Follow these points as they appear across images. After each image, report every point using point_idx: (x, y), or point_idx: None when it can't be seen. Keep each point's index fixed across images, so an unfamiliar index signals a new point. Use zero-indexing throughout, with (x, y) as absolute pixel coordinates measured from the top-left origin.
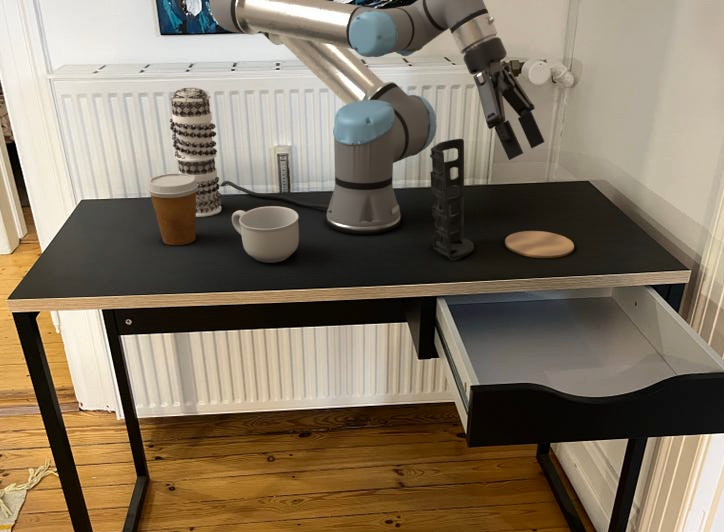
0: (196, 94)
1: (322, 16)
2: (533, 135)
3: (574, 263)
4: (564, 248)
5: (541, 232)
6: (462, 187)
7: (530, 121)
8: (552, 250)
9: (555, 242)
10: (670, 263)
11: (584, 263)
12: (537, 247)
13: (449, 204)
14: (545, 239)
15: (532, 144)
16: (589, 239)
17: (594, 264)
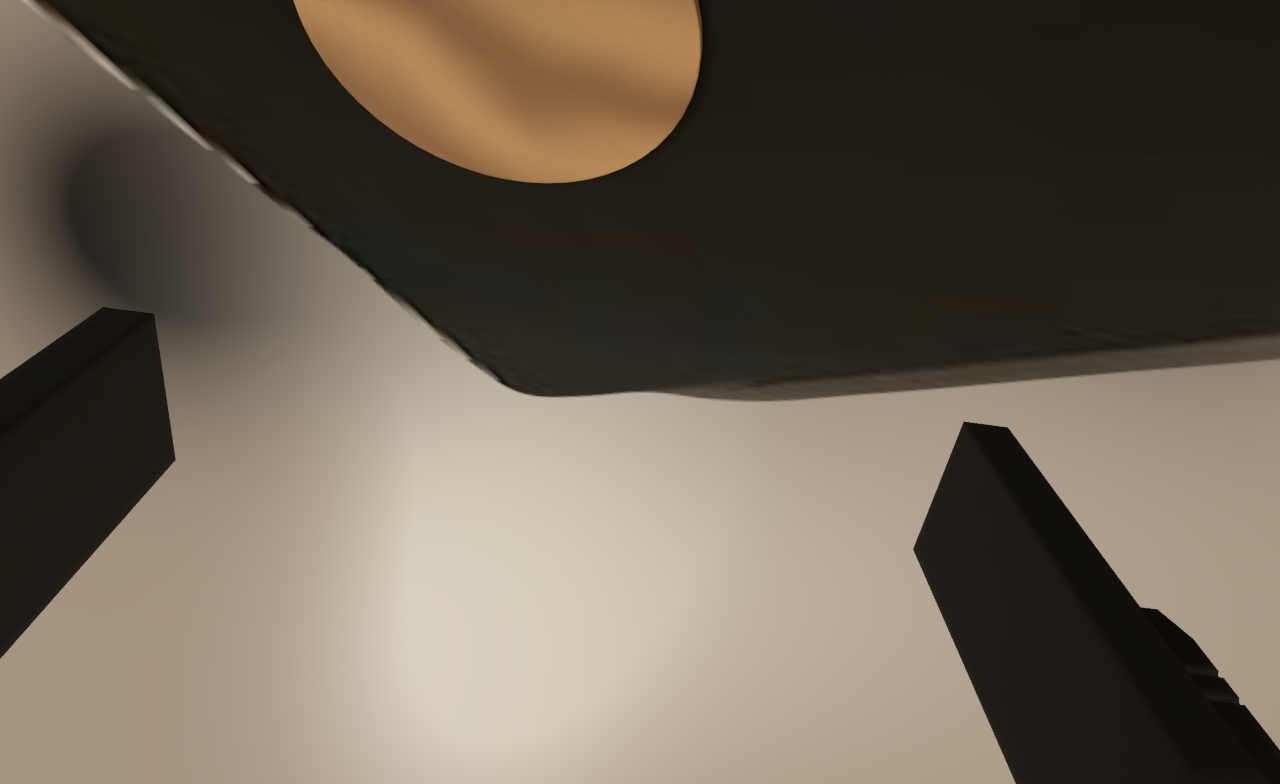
0: None
1: None
2: (980, 575)
3: (371, 172)
4: (486, 148)
5: (677, 40)
6: None
7: (1043, 756)
8: (424, 102)
9: (545, 112)
10: (561, 388)
11: (398, 203)
12: (417, 32)
13: None
14: (566, 66)
15: (963, 470)
16: (697, 228)
17: (412, 230)
